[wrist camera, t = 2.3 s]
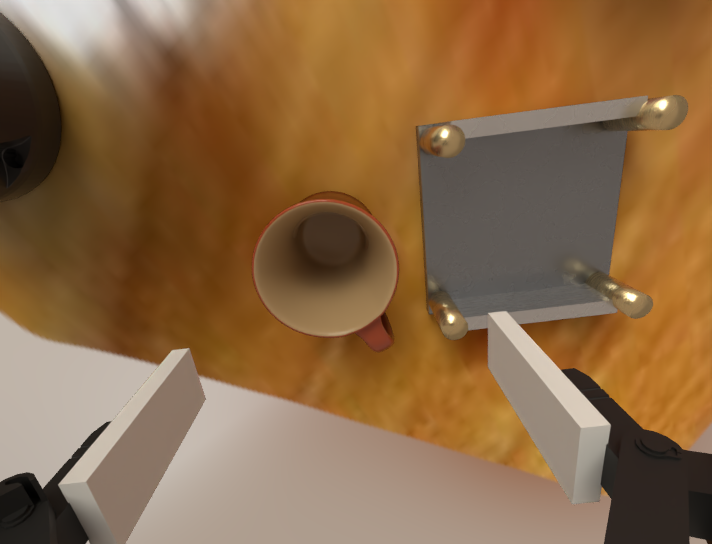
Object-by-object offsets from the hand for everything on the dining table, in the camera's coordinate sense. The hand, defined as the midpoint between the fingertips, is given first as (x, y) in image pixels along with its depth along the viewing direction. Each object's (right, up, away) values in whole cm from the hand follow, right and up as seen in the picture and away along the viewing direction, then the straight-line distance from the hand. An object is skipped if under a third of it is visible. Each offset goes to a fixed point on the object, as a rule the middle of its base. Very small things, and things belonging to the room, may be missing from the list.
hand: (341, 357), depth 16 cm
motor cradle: (+14, +9, +15) cm, 22 cm away
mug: (-1, +6, +16) cm, 17 cm away
